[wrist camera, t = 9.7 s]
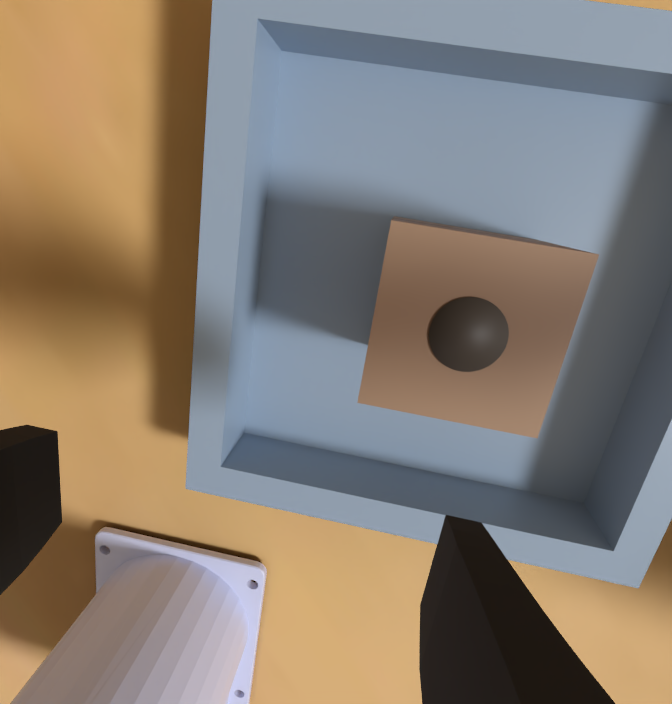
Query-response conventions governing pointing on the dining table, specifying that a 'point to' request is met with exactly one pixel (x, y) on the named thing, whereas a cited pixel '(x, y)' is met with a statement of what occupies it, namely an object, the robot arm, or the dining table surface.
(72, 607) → the dining table surface
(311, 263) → the tray
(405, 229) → the walnut block
